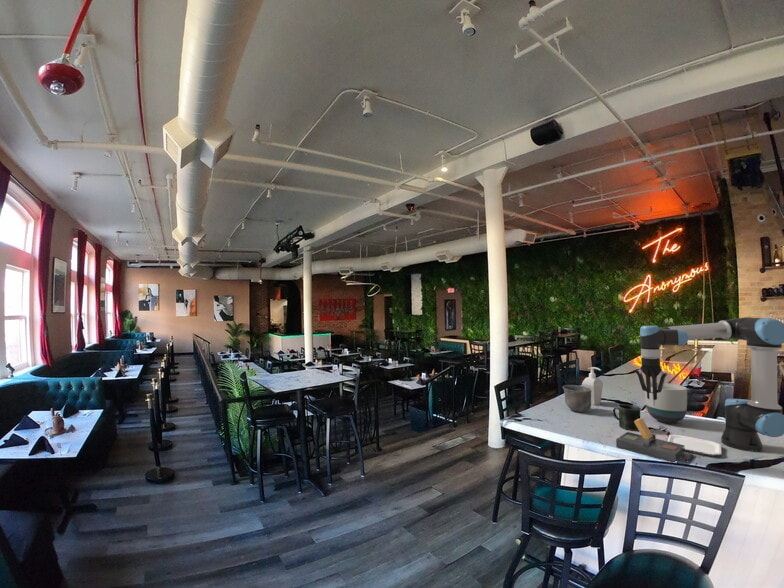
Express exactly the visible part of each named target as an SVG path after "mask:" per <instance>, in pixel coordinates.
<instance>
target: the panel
mask: <svg viewBox="0 0 784 588" xmlns="http://www.w3.org/2000/svg"><path fill="white" fill-rule="evenodd" d="M651 434H652V437H654V439H653V440H652V441H651V442H650V441H649V439H646V438H643V437H642V435H641V434H638V433H633V432H630V431H626V432H625V433H623V434H622V435H620V436H619V437H617V438H616V441H615V443H616V444H615V445H616V448H617V447H618V448H617V449H620V450H624V449H625V451H629V452H632V453H635V454H639V455H644V456H647V457H651V458H655V459H657V460H661V461H666V462H669V461H670V462H669V463H672V462H675V461H677V460H678V461H680V459H682V457H683V456H684V455H686V451H685V445H681V444H677V443H673V442H668V441H667V440H664V439H659V438H657V434H656V433H653V432H651Z"/></svg>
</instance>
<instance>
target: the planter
mask: <svg viewBox="0 0 784 588" xmlns="http://www.w3.org/2000/svg"><path fill="white" fill-rule="evenodd" d="M645 385H646V382H645ZM658 386H659V382H658V381H657V390H658ZM651 392H653V386H652V382H651ZM644 393H645V394H644V396H645V397H644V398H645V406H646V410H647V413H648V414H649V415H650V416H651V417H652V418H653V419H655V420H656V421H658V422H662V423H665V424H676V423H679V422H681V421H683V419H684V418H685V417H686V414H687V409H688V408H687V407H688V388H687V387H686V386H683V385H679V384H674V383H668V382H664V384H663V388H662V391H661V392H660V393H657V400H655V406H654V407H651V406H650V399H647V392H646V391H644Z"/></svg>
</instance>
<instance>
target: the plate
mask: <svg viewBox="0 0 784 588" xmlns="http://www.w3.org/2000/svg"><path fill="white" fill-rule="evenodd" d="M666 441H668V442H673V443H677V444H681V445H685V452H687V453H691V454H697V455H701V456H707V457H718V456H719V457H720V456H722V452H723V451H722V449H723V448H722V445H721V443H718V442H716V441H712V440H708V439H701V438H697V437H691V436H686V435H680V434H669V435H668V438H667V440H666Z"/></svg>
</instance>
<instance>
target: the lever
mask: <svg viewBox="0 0 784 588" xmlns="http://www.w3.org/2000/svg"><path fill="white" fill-rule="evenodd" d="M634 423H635V424H636V426H637V428H638V431H639V433H640V435H642V437H643V438H646V439H649V441H650V442H651V441H652V440H653V439H654V437H652V434H653V433H652V432H651V431H650V429H649V428H648V427H649V426H648V425H647V424H646V422H645V420H644V418H643V417H640V419H637V420H635V421H634ZM651 433H652V434H651Z"/></svg>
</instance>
